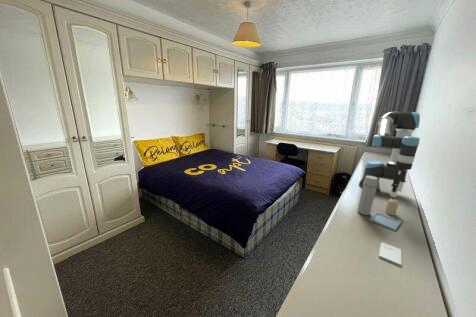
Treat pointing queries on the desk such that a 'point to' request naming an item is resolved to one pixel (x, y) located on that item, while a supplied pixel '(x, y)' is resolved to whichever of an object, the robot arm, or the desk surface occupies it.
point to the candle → (391, 206)
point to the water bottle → (367, 195)
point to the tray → (385, 221)
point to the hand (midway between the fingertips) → (395, 193)
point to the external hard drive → (390, 254)
